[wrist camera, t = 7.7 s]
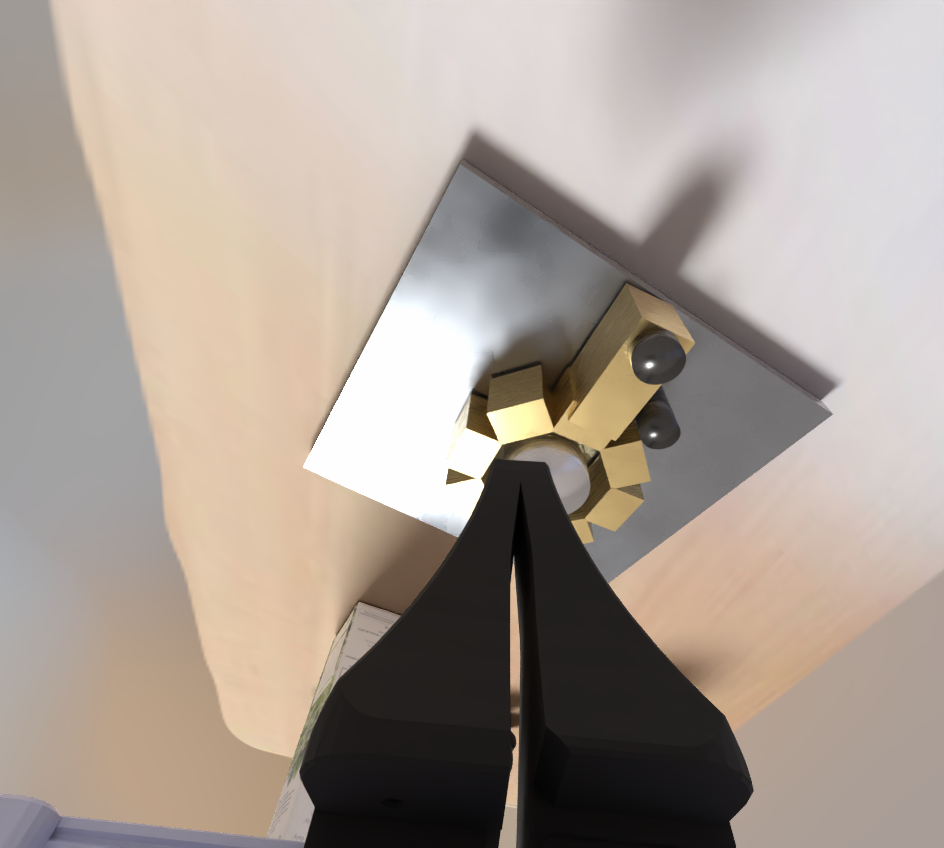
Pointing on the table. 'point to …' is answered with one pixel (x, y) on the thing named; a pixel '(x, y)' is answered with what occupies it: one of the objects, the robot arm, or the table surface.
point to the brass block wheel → (580, 410)
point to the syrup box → (344, 653)
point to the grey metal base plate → (554, 348)
